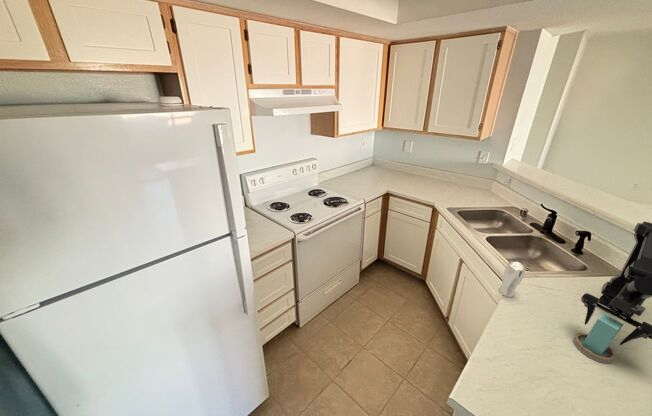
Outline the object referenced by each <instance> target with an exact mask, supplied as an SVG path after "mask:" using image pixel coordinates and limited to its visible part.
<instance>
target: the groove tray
mask: <svg viewBox="0 0 652 416" xmlns="http://www.w3.org/2000/svg"><path fill="white" fill-rule="evenodd" d="M588 334H589V333H581V332H580V333H578V334H576V335H575V336H574V337H573V339H572V343H573V345H574V347H575V348H576V349H577V351H579V352H580V353H581V354H582V355H584V356H586V357H587V358H589V359H591V360H593V361H594V362H598V363H601V364H606V365H607V364H611V363H613V361H614V360H615V358H616V353H615V351H614V349H613V348H612V347H611V346H610V345H609V346H608V348H607V349H606V351H605V352H604V353H603V354H602V355H600V356H598V355H596V354H594V353H593V352H591V351H590V350H588V349H587V348H585V347H584V346H582V343H583V342H584V340H585V338H586V337H587V335H588Z"/></svg>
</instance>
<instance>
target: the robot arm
mask: <svg viewBox="0 0 652 416" xmlns="http://www.w3.org/2000/svg"><path fill="white" fill-rule="evenodd" d="M633 232H634V234H633V237H634V240H635V244H634V245H633V247H632V250H631V251H630V254H629V255H628V258H627V259H626V260H625V263H624V265H623V267H622V269H621V271H620V273H619V274H617V275H615V276H613V277H611V278H610V279H609V281H606V282H605V283H604V284H603V285H602V286H601V292H600V293H601V294H602V295H601V296H600V297H599V298H598V297H597V296H595V295H592V294H590V293H589V292H587V293H584V294H583V295H582V296H581V298H580V299H581V303H583V306H584V307H585V308H586V309H587V310H586V311H587V312H586V317H585V320H584V325H587V324H588V323H589V322H590V320H591V319H592V317H593V315H594V313H595V311H596V308H598V309H600V310H602V311H604V312H606V313H607V314H610V315H611V316H614V317H616V318H617V319H619V320H621V321H623V322H625V323H627V324H629V325H631V326H633V327H635V328H634V329H633V331H632V332H631V333H629V334H628V335H627V336H626V337H624V338H623V339H622V340H621V341H620V343H619V345H620V346H624V344H627V343H629V342H631V341H633V340H637V339H639V338H640V339H641V338H643V339H645V340H647V339H650V340H652V324H651V323H648V322H646V321H642V323H641V322H639V321H638V320H635V319H634V318H633V316H634V315H636V316H638V317H640V316H642V315H643V313H644V312H645V310H646V309H647V308H646V307H644V306H643V304H644V303H645V301H646V300H647V299H650V298H652V222H649V221H642V222H637V223H636V225H635V226H634V228H633Z"/></svg>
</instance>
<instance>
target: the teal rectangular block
mask: <svg viewBox="0 0 652 416" xmlns="http://www.w3.org/2000/svg"><path fill="white" fill-rule="evenodd" d="M623 326H624V323H622V322H620V321H619V320H616V319H615V318H612V317H611V316H609V315H607V314H605V313H603V314H602V315H600V317H598V318H597V320H596V321H595V323H594V324H593V326H592V328H591V329H590V331H589V332H588V333H587V334H588V335H587V337H586V338H585V340H584V342H583V343H582V346H584V347H585V348H587V349H588V350H590V351H591V352H593V353H594V354H596V355H598V356H600V355H602V354H603V353H604V352H605V351H606V349H607V348H608V346H610V345H611V344H612V343H613V340H614V339H615V338H616V336H617V335H618V333H619V332H620V330H621V329H622V328H623Z"/></svg>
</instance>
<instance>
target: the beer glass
mask: <svg viewBox="0 0 652 416" xmlns="http://www.w3.org/2000/svg"><path fill="white" fill-rule="evenodd" d="M526 270H527V267H526V266H525V265H524V264H522V263H520V262H518V261H508V262H507V265H506V266H505V269H504V270H503V271H504V272H503V274H502V275H503V276H502V282H501V285H500V286H499V287H498V292H499V293H500V294H501V295H502V296H504V297H506V298H513V297H515V292H516V290H517V289H516V288H518V286H519V285H520V284H521V282H522V281H523V279H524V276H525V273H526Z"/></svg>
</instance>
